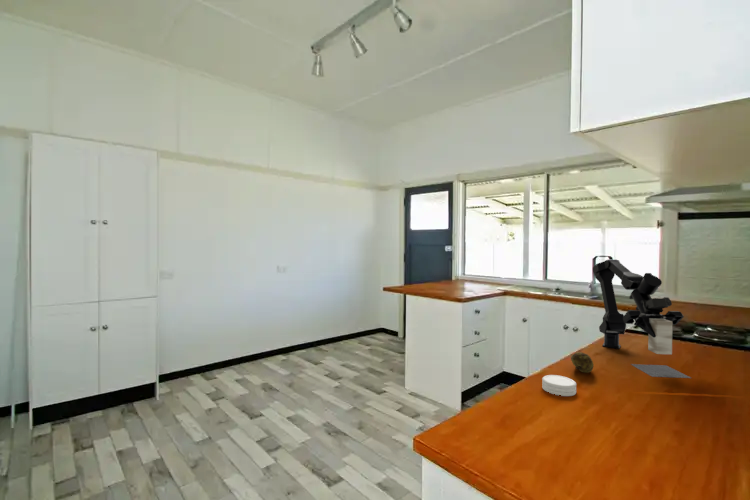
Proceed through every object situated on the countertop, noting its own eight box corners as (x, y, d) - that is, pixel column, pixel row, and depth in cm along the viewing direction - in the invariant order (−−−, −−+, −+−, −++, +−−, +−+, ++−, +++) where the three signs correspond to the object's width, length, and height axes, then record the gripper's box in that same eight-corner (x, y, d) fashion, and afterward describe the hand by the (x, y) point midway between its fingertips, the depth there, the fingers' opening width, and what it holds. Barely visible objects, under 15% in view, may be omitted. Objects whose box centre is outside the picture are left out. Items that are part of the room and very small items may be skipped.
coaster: (580, 390, 118) (580, 380, 118) (570, 400, 111) (570, 388, 111) (548, 382, 125) (548, 372, 125) (537, 390, 118) (537, 379, 118)
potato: (600, 370, 135) (600, 349, 135) (589, 379, 126) (589, 357, 126) (576, 365, 141) (576, 345, 141) (563, 373, 132) (564, 351, 132)
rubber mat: (630, 365, 141) (630, 364, 141) (666, 366, 139) (666, 365, 139) (651, 378, 128) (651, 376, 128) (691, 379, 126) (691, 378, 126)
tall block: (648, 349, 136) (648, 318, 136) (662, 350, 135) (663, 318, 135) (657, 353, 131) (657, 321, 131) (671, 354, 130) (672, 321, 130)
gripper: (627, 289, 138) (645, 324, 127) (680, 290, 136) (703, 326, 125) (615, 306, 146) (631, 340, 135) (665, 307, 144) (685, 342, 133)
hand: (662, 337), depth 132 cm, fingers closed on tall block, 5 cm apart
